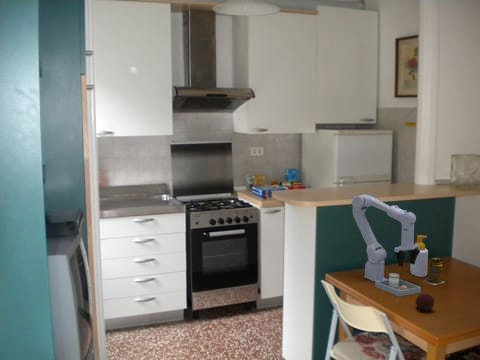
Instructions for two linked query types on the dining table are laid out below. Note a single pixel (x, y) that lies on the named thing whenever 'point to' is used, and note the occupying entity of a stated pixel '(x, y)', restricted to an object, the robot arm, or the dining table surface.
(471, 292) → the dining table surface
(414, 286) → the tray
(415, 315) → the dining table surface
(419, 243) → the soap bottle
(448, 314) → the dining table surface
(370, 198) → the robot arm
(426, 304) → the dark purple sphere
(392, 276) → the shaker
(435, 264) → the condiment
